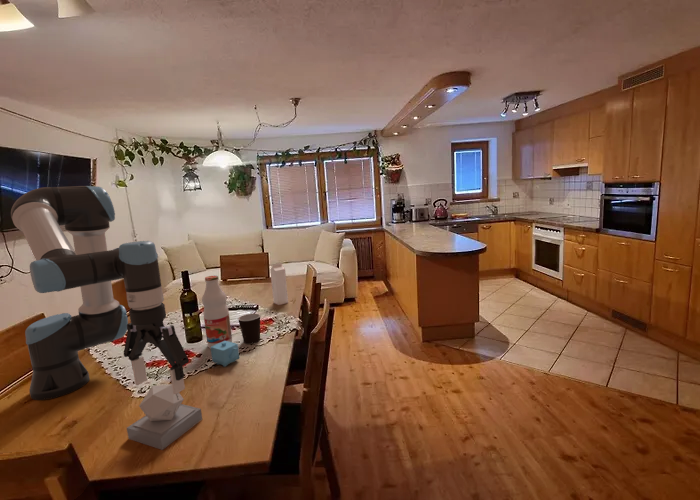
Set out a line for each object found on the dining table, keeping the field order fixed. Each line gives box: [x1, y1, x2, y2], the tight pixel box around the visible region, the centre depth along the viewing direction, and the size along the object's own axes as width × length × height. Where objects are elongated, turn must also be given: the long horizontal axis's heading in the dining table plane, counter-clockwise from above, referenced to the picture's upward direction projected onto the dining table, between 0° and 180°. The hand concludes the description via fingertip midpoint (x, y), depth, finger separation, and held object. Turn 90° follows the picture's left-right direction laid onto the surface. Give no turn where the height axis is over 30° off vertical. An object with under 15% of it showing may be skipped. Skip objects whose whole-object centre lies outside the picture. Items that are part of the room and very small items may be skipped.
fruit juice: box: [201, 274, 233, 349], centre depth 140 cm, size 9×9×28 cm
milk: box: [269, 262, 289, 306], centre depth 193 cm, size 6×6×22 cm
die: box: [138, 383, 184, 421], centre depth 89 cm, size 8×9×10 cm
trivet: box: [126, 403, 203, 451], centre depth 90 cm, size 12×12×3 cm
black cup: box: [237, 313, 261, 345], centre depth 145 cm, size 12×9×10 cm
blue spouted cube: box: [210, 341, 240, 368], centre depth 125 cm, size 12×6×8 cm, turn 56°
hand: (159, 386), depth 89 cm, fingers open, 13 cm apart
